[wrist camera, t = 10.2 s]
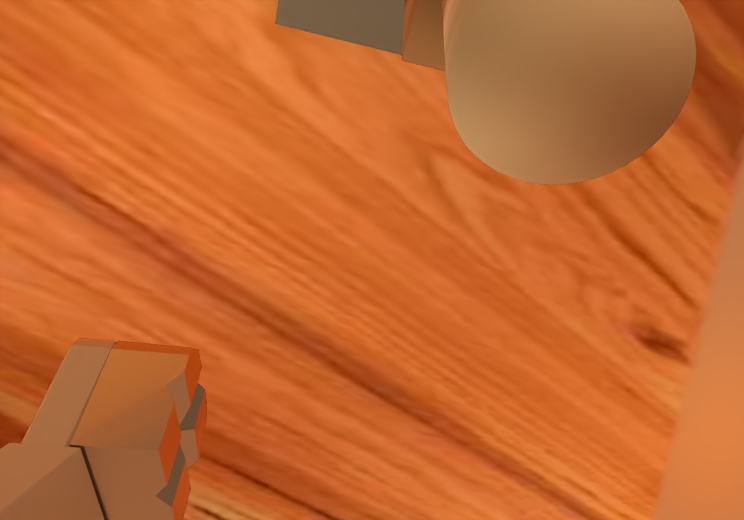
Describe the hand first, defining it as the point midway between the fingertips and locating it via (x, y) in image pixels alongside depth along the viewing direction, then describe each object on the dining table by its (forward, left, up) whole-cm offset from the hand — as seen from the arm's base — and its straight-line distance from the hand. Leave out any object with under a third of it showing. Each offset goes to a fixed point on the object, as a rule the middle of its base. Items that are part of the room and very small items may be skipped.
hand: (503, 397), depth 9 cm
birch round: (+1, -2, -14) cm, 14 cm away
